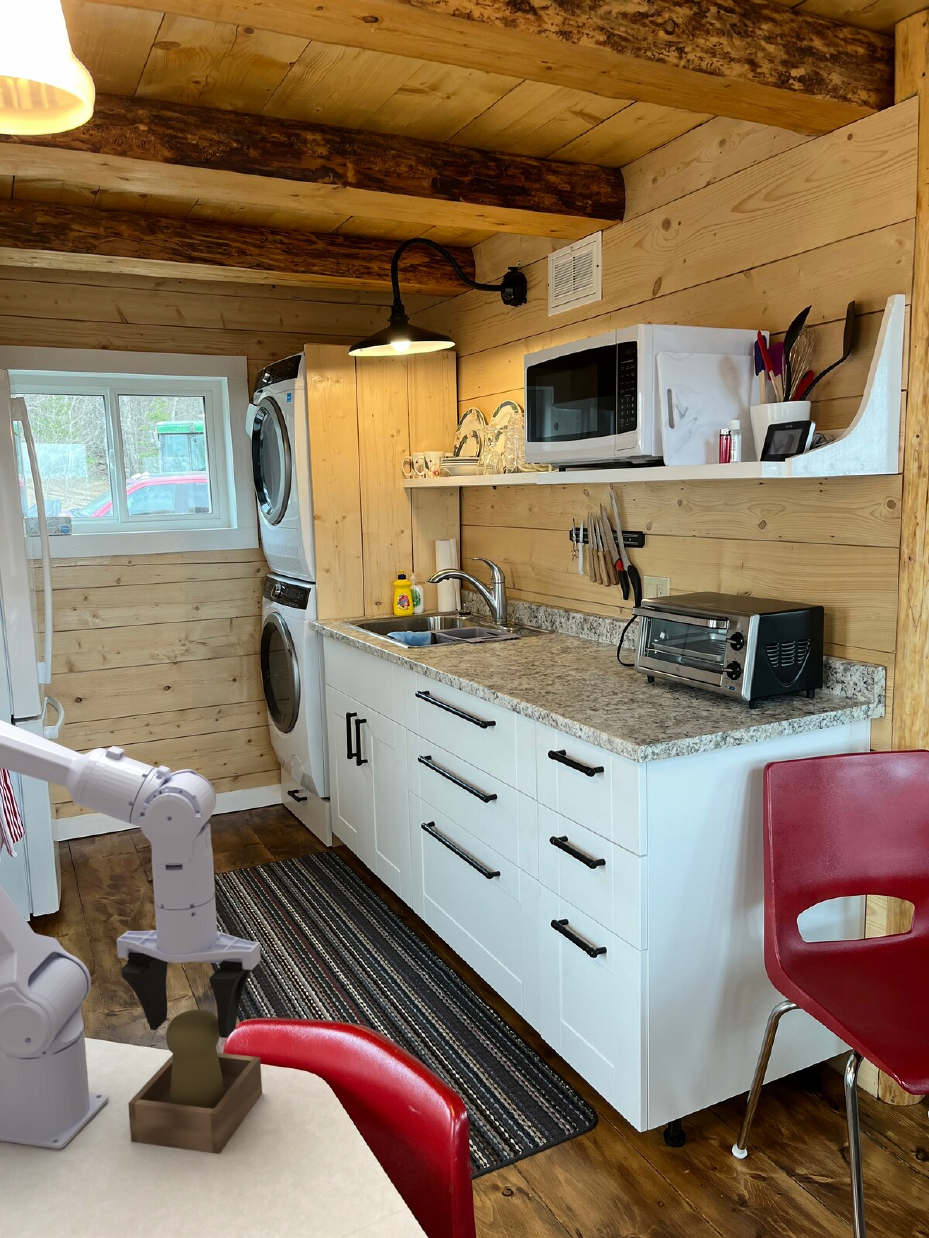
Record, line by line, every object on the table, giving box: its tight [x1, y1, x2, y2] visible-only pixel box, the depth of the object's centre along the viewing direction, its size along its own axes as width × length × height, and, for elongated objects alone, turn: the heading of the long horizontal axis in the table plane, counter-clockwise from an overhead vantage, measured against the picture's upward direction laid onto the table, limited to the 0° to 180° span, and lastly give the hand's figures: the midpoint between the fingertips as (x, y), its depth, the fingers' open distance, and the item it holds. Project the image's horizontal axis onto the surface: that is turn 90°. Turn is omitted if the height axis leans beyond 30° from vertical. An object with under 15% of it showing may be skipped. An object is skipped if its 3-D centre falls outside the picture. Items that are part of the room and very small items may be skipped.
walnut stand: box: [127, 1052, 263, 1154], centre depth 94 cm, size 9×9×4 cm
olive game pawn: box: [165, 1008, 226, 1109], centre depth 93 cm, size 6×6×11 cm
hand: (192, 1028), depth 94 cm, fingers open, 7 cm apart
